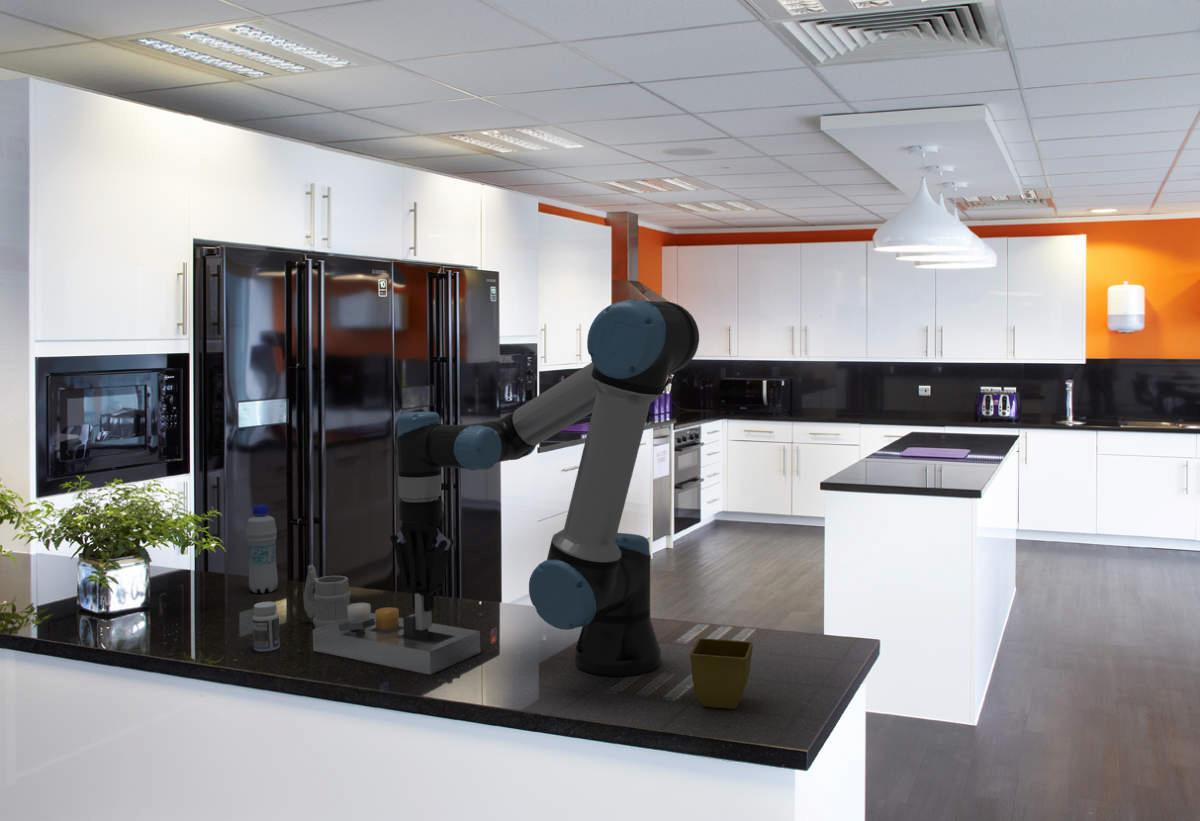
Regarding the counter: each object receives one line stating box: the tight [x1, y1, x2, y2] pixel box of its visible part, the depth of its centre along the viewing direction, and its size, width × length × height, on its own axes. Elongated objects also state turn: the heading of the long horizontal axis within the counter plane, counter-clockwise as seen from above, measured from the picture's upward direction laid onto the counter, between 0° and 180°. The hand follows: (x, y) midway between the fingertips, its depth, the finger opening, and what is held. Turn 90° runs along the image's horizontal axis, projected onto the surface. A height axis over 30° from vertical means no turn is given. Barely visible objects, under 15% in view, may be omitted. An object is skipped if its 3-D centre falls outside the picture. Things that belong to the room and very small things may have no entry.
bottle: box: [245, 504, 279, 594], centre depth 238 cm, size 7×7×20 cm
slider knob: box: [402, 612, 429, 641], centre depth 189 cm, size 2×4×5 cm, turn 149°
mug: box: [302, 564, 352, 629], centre depth 209 cm, size 8×12×12 cm, turn 57°
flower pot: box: [689, 637, 754, 710], centre depth 163 cm, size 9×9×9 cm
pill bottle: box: [251, 601, 281, 653], centre depth 195 cm, size 5×5×8 cm
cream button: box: [347, 602, 372, 621], centre depth 196 cm, size 4×4×3 cm
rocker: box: [339, 618, 375, 631], centre depth 190 cm, size 6×3×1 cm, turn 59°
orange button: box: [374, 606, 400, 630], centre depth 193 cm, size 4×4×3 cm
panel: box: [312, 612, 481, 675], centre depth 192 cm, size 28×14×5 cm, turn 59°
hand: (423, 627), depth 188 cm, fingers closed
